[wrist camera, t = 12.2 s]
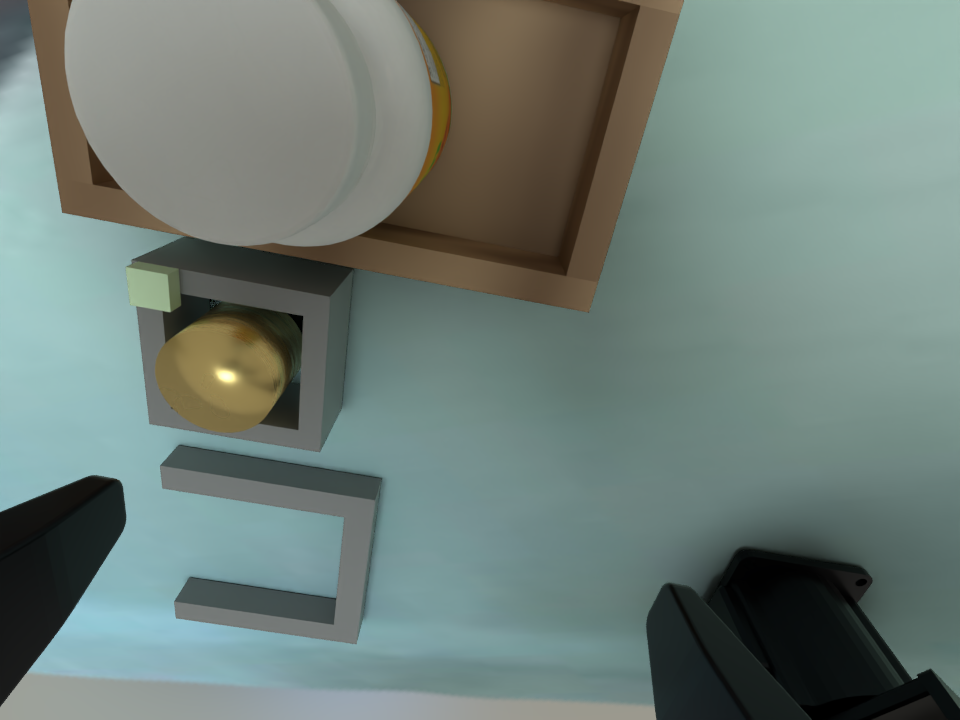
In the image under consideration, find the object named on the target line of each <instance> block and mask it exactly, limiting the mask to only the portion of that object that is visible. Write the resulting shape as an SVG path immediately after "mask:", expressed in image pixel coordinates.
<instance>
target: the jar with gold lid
mask: <svg viewBox="0 0 960 720" xmlns="http://www.w3.org/2000/svg"><path fill="white" fill-rule="evenodd" d="M301 358H302V334H301V332H300V330H299V328H298V326H297V325H296V323H295V322H294V320H293V319H292V318H291V317H290V316H289V315H288V314H287V313H284V312H279V311H274V310H268V309H263V308H257V307H252V306H246V305H241V304H235V303H230V302H224V301H222V302H220V303H219V304H217V305H216V306H215V307H213V308H212V309H211V310H209V311H208V312H206V313H205V314H204V315H202V316H201V317H200V318H198V319H197V320H196V321H194V322H193V323H191V324H190V325H189V326H187V327H186V328H185V329H183V330H182V331H181V332H179V333H178V334H177V335H175V336H174V337H172V338H171V339H170V340H169V341H167V342H166V343H165V344H164V346H163V347H162V348H161V350H160V351H159V353H158V356H157V359H156V363H155V376H156V381H157V384H158V387H159V389H160V391H161V394H162V395H163V397H164V398H165V400H166V401H167V403H168V404H169V405H170V406H171V407H172V408H173V409H174V410H175V411H176V412H177V413H178V414H179V415H180V416H182V417H183V418H185V419H186V420H187V421H189V422H191V423H193V424H195V425H197V426H199V427H201V428H204V429H207V430H211V431H215V432H223V433H233V432H240V431H245V430H247V429H250V428H252V427H254V426H256V425H257V424H259V423H260V422H261V421H262V420H263V419H264V418H265V417H266V416H267V414H268V413H269V412H270V410H271V409H272V407H273V406H274V405H275V403H276V402H277V401H278V399H279V398H280V396H281V395H282V394H283V392H284V391H285V389H286V388H287V387H288V385H289V384H290V382H291V381H292V380H293V378H294V377H295V376H296V374H297V373H298V371H299V370H300V368H301Z"/></svg>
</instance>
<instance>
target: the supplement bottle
mask: <svg viewBox="0 0 960 720" xmlns="http://www.w3.org/2000/svg"><path fill="white" fill-rule="evenodd" d="M65 70H66V76H67V83H68V88H69V92H70V96H71V100H72V103H73V106H74V110H75V113H76V116H77V118H78V120H79V122H80V125H81V127H82V129H83V131H84V133H85V136H86V138H87V140H88V142H89V144H90V146H91V147H92V149H93V150H94V152H95V154H96V155H97V157H98V158H99V160H100V161H101V163H102V164H103V166H104V167H105V169H106V170H107V171H108V172H109V174H110V175H111V176H112V177H113V178H114V180H115V181H116V182H117V183H118V185H119V186H120V187H121V188H122V189H123V190H124V191H125V192H126V193H127V194H128V195H129V196H130V197H131V198H132V199H133V200H134V201H136V202H137V203H138V204H139V205H140V206H141V207H143V208H144V209H145V210H146V211H148V212H149V213H150V214H152V215H153V216H154V217H156V218H157V219H159V220H161V221H162V222H164V223H166V224H168V225H169V226H171V227H173V228H175V229H177V230H179V231H181V232H183V233H186V234H188V235H191V236H193V237H196V238H199V239H202V240H206V241H210V242H213V243H218V244H225V245H233V246H253V245H263V244H268V243H277V244H282V245H290V246H303V247H306V246H324V245H331V244H335V243H338V242H342V241H345V240H348V239H351V238H353V237H356V236H358V235H360V234H362V233H364V232H366V231H368V230H369V229H371V228H373V227H374V226H376V225H377V224H378V223H380V222H381V221H383V220H384V219H385V218H387V217H388V216H389V215H390V214H391V213H392V212H393V211H394V210H395V209H396V208H397V207H398V206H399V205H400V204H401V203H402V202H403V201H404V200H405V199H406V197H407V196H408V195H409V194H410V193H411V192H412V191H413V190H414V189H415V188H416V187H417V186H418V185H419V184H420V182H421V181H422V180H423V179H424V178H425V177H426V176H427V175H428V173H429V172H430V171H431V170H432V169H433V167H434V166H435V164H436V163H437V161H438V160H439V158H440V156H441V154H442V152H443V150H444V147H445V145H446V142H447V139H448V135H449V131H450V126H451V120H452V97H451V90H450V85H449V81H448V77H447V74H446V71H445V68H444V65H443V63H442V61H441V58H440V56H439V54H438V52H437V50H436V49H435V47H434V45H433V43H432V42H431V40H430V39H429V37H428V36H427V35H426V33H425V32H424V31H423V29H422V28H421V27H420V26H419V25H418V24H417V23H416V21H415V20H414V19H413V18H412V17H411V16H410V15H409V14H408V13H407V12H406V11H405V10H404V8H403V7H402V6H401V5H400V4H399V3H398V2H397V1H396V0H72V2H71V6H70V10H69V14H68V20H67V25H66V30H65Z"/></svg>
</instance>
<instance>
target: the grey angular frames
mask: <svg viewBox="0 0 960 720" xmlns="http://www.w3.org/2000/svg"><path fill="white" fill-rule="evenodd" d="M131 261H132V264H131V265H129V266H127V267H126V274H127V283H128V292H129V300H130V305H133V306H137V315H138V324H139V333H140V342H141V352H142V361H143V370H144V379H145V388H146V397H147V406H148V415H149V424H153V425H159V426H165V427H171V428H177V429H183V430H189V431H195V432H201V433H207V434H213V435H219V436H225V437H231V438H237V439H243V440H249V441H255V442H261V443H267V444H273V445H279V446H285V447H291V448H297V449H303V450H309V451H315V452H320V451H321V449H322V447H323V445H324V443H325V441H326V439H327V437H328V435H329V433H330V431H331V429H332V427H333V425H334V423H335V421H336V419H337V417H338V415H339V413H340V411H341V409H342V399H343V387H344V375H345V364H346V352H347V340H348V328H349V316H350V305H351V293H352V281H353V269H351V268H345V267H340V266H335V265H329V264H324V263H319V262H314V261H308V260H303V259H298V258H293V257H287V256H282V255H277V254H271V253H266V252H261V251H256V250H250V249H245V248H240V247H235V246H229V245H224V244H218V243H213V242H208V241H203V240H198V239H192V238H187V237H183V238H181V239H178V240H176V241H174V242H171V243H169V244H167V245H165V246H162V247H160V248H158V249H156V250H153V251H151V252H149V253H146V254H144V255H142V256H140V257H137V258H135V259H133V260H131ZM210 299H213V300H219V301H224V302H230V303H235V304H241V305H246V306H252V307H257V308H263V309H268V310H274V311H279V312H284V313H290V314H295V315H301V316H303V334H302V358H301V382H300V384H295V383H290V384H289V385H288V387H287V388H286V389H285V391H284V392H283V394H282V395H281V396H280V398H279V399H278V401H277V402H276V403H275V405H274V406H273V407H272V409H271V410H270V412H269V413H268V414H267V416H266V417H265V418H264V419H263V420H262V421H261V422H260V423H259V424H257V425H256V426H254V427H252V428H250V429H247V430H245V431H240V432H233V433H223V432H215V431H211V430H207V429H204V428H201V427H199V426H197V425H195V424H193V423H191V422H189V421H187V420H186V419H185V418H183V417H182V416H180V415H179V414H178V413H177V412H176V411H175V410H174V409H173V408H172V407H171V406H170V405H169V404H168V403H167V401H166V400H165V398H164V397H163V395H162V394H161V391H160V389H159V387H158V384H157V381H156V376H155V363H156V359H157V356H158V353H159V351H160V350H161V348H162V347H163V346H164V344H165V343H166V342H167V341H169V340H170V339H171V338H172V337H174V336H175V335H177V334H178V333H179V332H181V331H182V330H183V329H185V328H186V327H187V326H189V325H190V324H191V323H193V322H194V321H196V320H197V319H198V318H200V317H201V316H202V315H204V314H205V313H206V312H208V311H209V310H210ZM160 470H161V480H162V488H163V489H169V490H176V491H182V492H188V493H195V494H201V495H207V496H213V497H220V498H226V499H232V500H239V501H245V502H251V503H257V504H264V505H270V506H276V507H283V508H289V509H295V510H301V511H308V512H314V513H320V514H327V515H333V516H339V517H344V527H343V537H342V547H341V557H340V567H339V577H338V588H337V598H336V599H330V598H323V597H317V596H310V595H303V594H297V593H290V592H283V591H276V590H270V589H263V588H256V587H250V586H243V585H236V584H229V583H223V582H216V581H209V580H203V579H196V578H189V579H188V581H187V582H186V584H185V585H184V587H183V589H182V590H181V592H180V593H179V595H178V596H177V598H176V600H175V601H174V605H175V614H176V618H178V619H185V620H192V621H199V622H205V623H212V624H219V625H226V626H233V627H240V628H247V629H254V630H261V631H268V632H275V633H282V634H289V635H296V636H303V637H310V638H317V639H324V640H331V641H338V642H345V643H351V644H357V640H358V636H359V632H360V628H361V624H362V620H363V613H364V606H365V599H366V591H367V584H368V576H369V569H370V561H371V554H372V547H373V539H374V532H375V524H376V517H377V509H378V502H379V495H380V487H381V480H382V479H380V478H374V477H368V476H362V475H356V474H350V473H344V472H338V471H331V470H325V469H319V468H313V467H307V466H301V465H295V464H289V463H283V462H277V461H271V460H265V459H259V458H252V457H246V456H240V455H234V454H228V453H222V452H216V451H210V450H204V449H198V448H192V447H186V446H180V445H178V447H177V448H176V449H175V450H174V451H173V452H172V453H171V454H170V455H169V456H168V457H167V459H166V460H165V461H164V462H163V463H162V464H161V465H160Z"/></svg>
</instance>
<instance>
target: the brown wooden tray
mask: <svg viewBox="0 0 960 720" xmlns="http://www.w3.org/2000/svg"><path fill="white" fill-rule="evenodd" d="M396 1H397V2H398V3H399V4H400V5H401V6H402V7H403V8H404V10H405V11H406V12H407V13H408V14H409V15H410V16H411V17H412V18H413V19H414V20H415V21H416V23H417V24H418V25H419V26H420V27H421V28H422V29H423V31H424V32H425V33H426V35H427V36H428V37H429V39H430V40H431V42H432V43H433V45H434V47H435V49H436V50H437V52H438V54H439V56H440V58H441V61H442V63H443V65H444V68H445V71H446V74H447V77H448V81H449V85H450V90H451V97H452V120H451V126H450V131H449V135H448V139H447V142H446V145H445V147H444V150H443V152H442V154H441V156H440V158H439V160H438V161H437V163H436V164H435V166H434V167H433V169H432V170H431V171H430V172H429V173H428V175H427V176H426V177H425V178H424V179H423V180H422V181H421V182H420V184H419V185H418V186H417V187H416V188H415V189H414V190H413V191H412V192H411V193H410V194H409V195H408V196H407V197H406V199H405V200H404V201H403V202H402V203H401V204H400V205H399V206H398V207H397V208H396V209H395V210H394V211H393V212H392V213H391V214H390V215H389V216H388V217H387V218H385V219H384V220H383V221H381V222H380V223H378V224H377V225H376V226H374V227H373V228H371V229H369V230H368V231H366V232H364V233H362V234H360V235H358V236H356V237H353V238H351V239H348V240H345V241H342V242H338V243H335V244H331V245H324V246H306V247H303V246H290V245H282V244H277V243H268V244H263V245H253V246H241V247H246V248H252V249H257V250H262V251H267V252H273V253H278V254H283V255H288V256H294V257H299V258H304V259H310V260H315V261H320V262H325V263H331V264H336V265H341V266H346V267H352V268H357V269H362V270H368V271H373V272H378V273H383V274H389V275H394V276H399V277H404V278H410V279H415V280H420V281H425V282H431V283H436V284H441V285H447V286H452V287H457V288H462V289H468V290H473V291H478V292H483V293H489V294H494V295H499V296H505V297H510V298H515V299H520V300H526V301H531V302H536V303H541V304H547V305H552V306H557V307H562V308H568V309H573V310H578V311H584V312H589V311H590V307H591V304H592V301H593V297H594V294H595V291H596V288H597V284H598V281H599V278H600V275H601V271H602V268H603V265H604V261H605V258H606V255H607V252H608V248H609V245H610V242H611V238H612V235H613V232H614V229H615V225H616V222H617V219H618V215H619V212H620V209H621V206H622V202H623V199H624V196H625V192H626V189H627V186H628V183H629V179H630V176H631V173H632V169H633V166H634V163H635V160H636V156H637V153H638V150H639V146H640V143H641V140H642V137H643V133H644V130H645V127H646V123H647V120H648V117H649V114H650V110H651V107H652V104H653V100H654V97H655V94H656V91H657V87H658V84H659V81H660V77H661V74H662V71H663V68H664V64H665V61H666V58H667V54H668V51H669V48H670V45H671V41H672V38H673V35H674V31H675V28H676V25H677V22H678V18H679V15H680V12H681V9H682V5H683V2H684V0H396ZM71 2H72V0H28V6H29V12H30V18H31V25H32V31H33V37H34V43H35V49H36V55H37V61H38V67H39V73H40V79H41V85H42V92H43V98H44V104H45V110H46V116H47V122H48V128H49V134H50V140H51V146H52V152H53V158H54V165H55V171H56V177H57V183H58V189H59V195H60V201H61V207H62V213H67V214H72V215H78V216H83V217H88V218H94V219H99V220H104V221H109V222H115V223H120V224H125V225H130V226H136V227H141V228H146V229H151V230H157V231H162V232H167V233H173V234H178V235H183V236H188V237H193V236H191V235H188V234H186V233H183V232H181V231H179V230H177V229H175V228H173V227H171V226H169V225H168V224H166V223H164V222H162V221H161V220H159V219H157V218H156V217H154V216H153V215H152V214H150V213H149V212H148V211H146V210H145V209H144V208H143V207H141V206H140V205H139V204H138V203H137V202H136V201H134V200H133V199H132V198H131V197H130V196H129V195H128V194H127V193H126V192H125V191H124V190H123V189H122V188H121V187H120V186H119V185H118V183H117V182H116V181H115V180H114V178H113V177H112V176H111V175H110V174H109V172H108V171H107V170H106V169H105V167H104V166H103V164H102V163H101V161H100V160H99V158H98V157H97V155H96V154H95V152H94V150H93V149H92V147H91V146H90V144H89V142H88V140H87V138H86V136H85V133H84V131H83V129H82V127H81V125H80V122H79V120H78V118H77V116H76V113H75V110H74V106H73V103H72V100H71V96H70V92H69V88H68V83H67V76H66V70H65V30H66V25H67V20H68V14H69V10H70V6H71ZM194 238H196V237H194Z"/></svg>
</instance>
